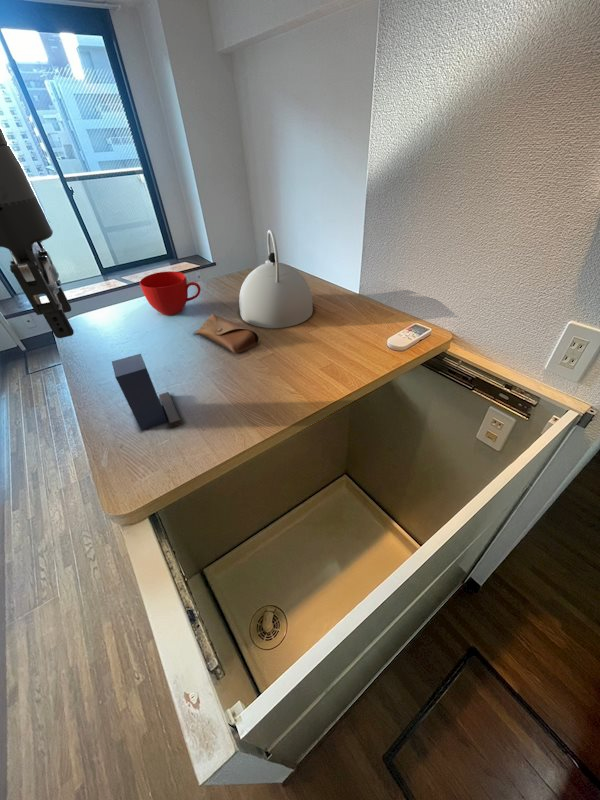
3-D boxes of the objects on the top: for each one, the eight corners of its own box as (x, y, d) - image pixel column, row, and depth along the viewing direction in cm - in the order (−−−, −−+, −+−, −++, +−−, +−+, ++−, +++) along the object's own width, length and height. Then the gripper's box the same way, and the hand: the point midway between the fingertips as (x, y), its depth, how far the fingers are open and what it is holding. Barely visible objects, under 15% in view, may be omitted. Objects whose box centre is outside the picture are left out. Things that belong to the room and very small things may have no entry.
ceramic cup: (200, 320, 98) (192, 287, 91) (144, 320, 98) (132, 288, 91) (209, 301, 107) (202, 270, 101) (158, 302, 108) (148, 271, 101)
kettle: (237, 296, 110) (227, 222, 96) (303, 290, 114) (302, 217, 99) (242, 332, 92) (230, 247, 77) (320, 323, 95) (323, 240, 80)
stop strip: (171, 427, 64) (169, 423, 63) (160, 398, 70) (158, 394, 70) (181, 423, 65) (180, 419, 64) (169, 395, 71) (168, 391, 70)
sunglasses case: (192, 332, 91) (197, 309, 89) (211, 335, 97) (216, 313, 95) (236, 354, 82) (243, 329, 80) (254, 356, 88) (261, 332, 86)
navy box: (141, 430, 63) (115, 377, 55) (136, 413, 67) (111, 361, 58) (167, 421, 65) (146, 368, 57) (161, 405, 69) (140, 353, 60)
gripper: (-34, 190, 41) (37, 310, 51) (-59, 211, 31) (33, 353, 42) (36, 184, 44) (89, 300, 54) (32, 202, 34) (97, 337, 45)
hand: (65, 323), depth 48 cm, fingers open, 8 cm apart
